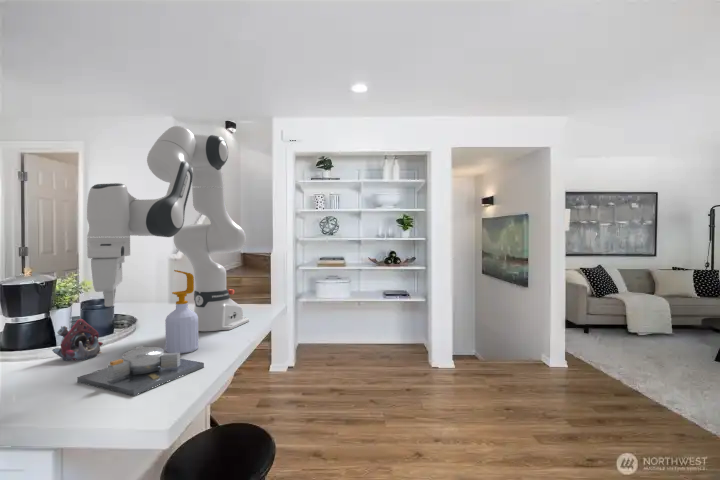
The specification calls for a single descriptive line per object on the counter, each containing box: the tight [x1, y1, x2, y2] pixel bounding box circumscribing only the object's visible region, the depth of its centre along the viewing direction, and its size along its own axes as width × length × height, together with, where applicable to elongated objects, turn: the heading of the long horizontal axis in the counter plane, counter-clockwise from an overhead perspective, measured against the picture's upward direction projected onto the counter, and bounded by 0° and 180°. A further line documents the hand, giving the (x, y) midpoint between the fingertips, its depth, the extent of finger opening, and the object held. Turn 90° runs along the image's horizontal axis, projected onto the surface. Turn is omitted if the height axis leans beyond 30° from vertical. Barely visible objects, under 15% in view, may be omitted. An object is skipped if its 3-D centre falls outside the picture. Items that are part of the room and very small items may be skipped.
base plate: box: [76, 358, 205, 397], centre depth 99 cm, size 20×20×1 cm
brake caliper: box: [51, 318, 104, 362], centre depth 113 cm, size 11×11×12 cm
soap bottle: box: [164, 269, 199, 355], centre depth 119 cm, size 9×9×25 cm
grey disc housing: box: [107, 345, 181, 379], centre depth 97 cm, size 14×16×4 cm
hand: (109, 305), depth 95 cm, fingers closed
